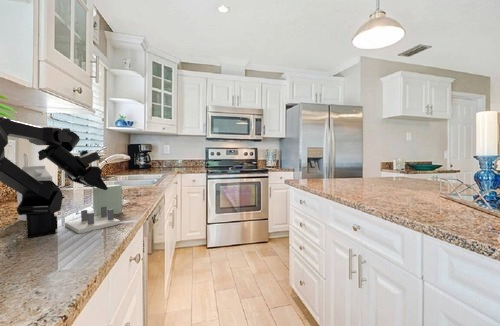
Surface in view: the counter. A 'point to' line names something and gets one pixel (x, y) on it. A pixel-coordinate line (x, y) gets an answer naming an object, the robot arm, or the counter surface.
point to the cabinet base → (93, 221)
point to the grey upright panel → (107, 199)
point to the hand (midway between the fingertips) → (101, 188)
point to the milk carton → (39, 175)
